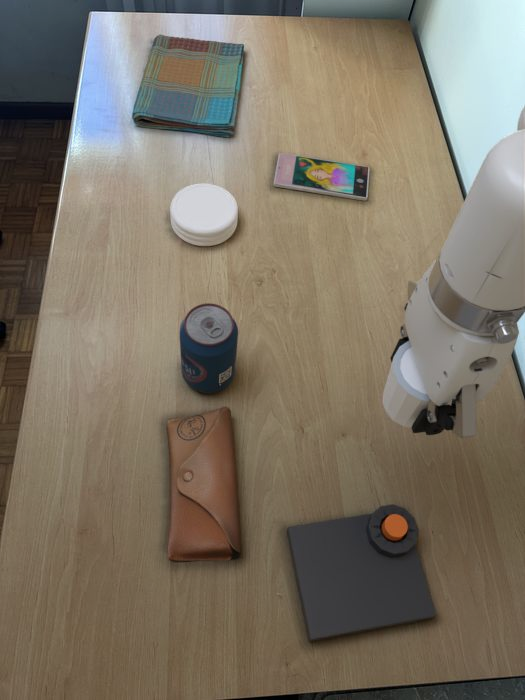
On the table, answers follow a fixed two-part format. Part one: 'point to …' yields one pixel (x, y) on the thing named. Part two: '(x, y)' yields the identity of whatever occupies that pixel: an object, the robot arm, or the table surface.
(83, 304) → the table surface
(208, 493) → the sunglasses case
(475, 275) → the robot arm
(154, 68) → the dish towel
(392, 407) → the white cylinder
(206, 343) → the soda can
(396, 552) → the scale
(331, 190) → the smartphone
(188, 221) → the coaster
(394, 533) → the button
